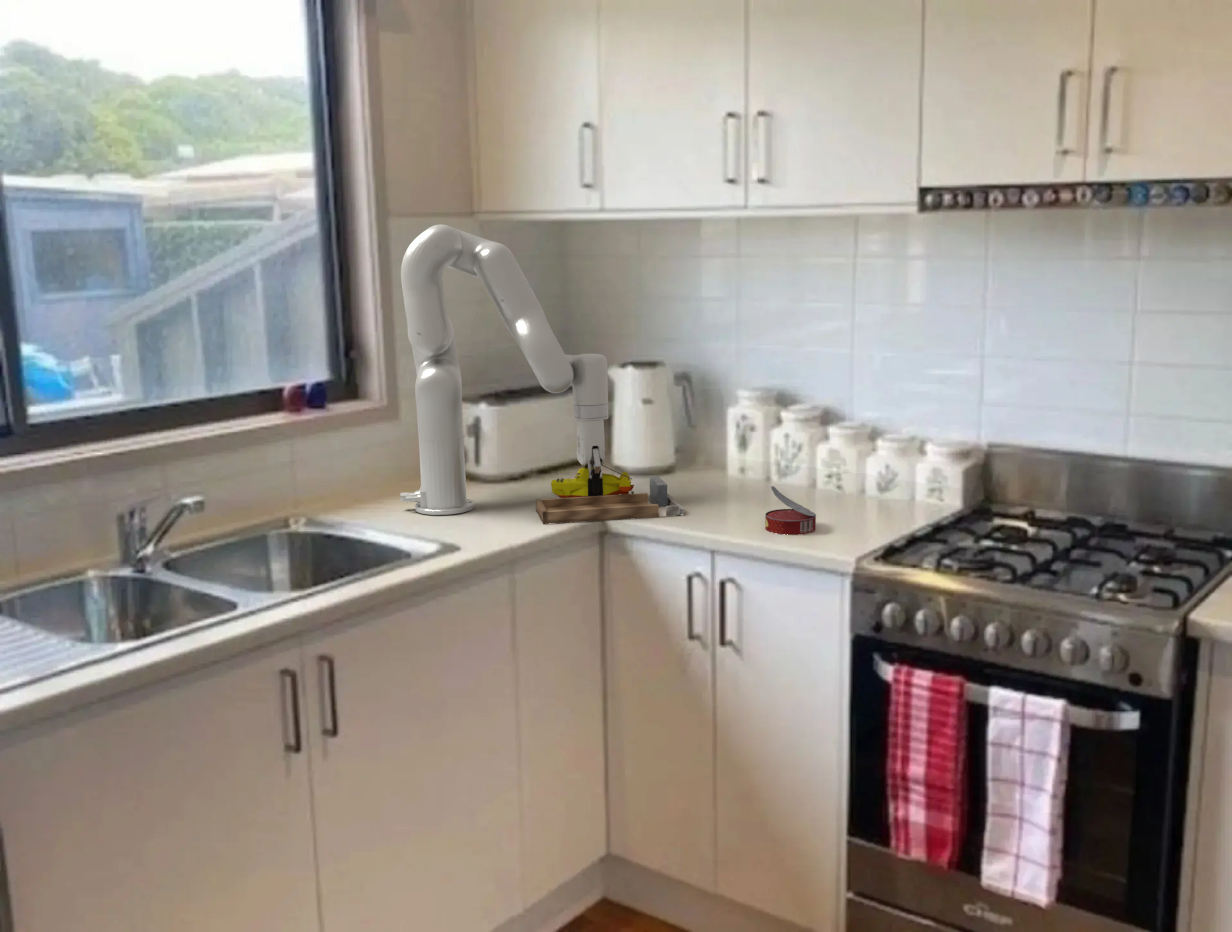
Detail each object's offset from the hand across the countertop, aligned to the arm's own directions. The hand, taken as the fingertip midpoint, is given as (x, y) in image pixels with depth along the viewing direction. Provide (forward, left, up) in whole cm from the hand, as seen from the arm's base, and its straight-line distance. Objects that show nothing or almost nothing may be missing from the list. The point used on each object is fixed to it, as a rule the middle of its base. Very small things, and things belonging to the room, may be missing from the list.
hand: (592, 492), depth 263 cm
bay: (+2, -7, -2) cm, 7 cm away
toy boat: (0, 0, -2) cm, 2 cm away
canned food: (+34, -33, -3) cm, 47 cm away
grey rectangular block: (+14, -3, -2) cm, 14 cm away
